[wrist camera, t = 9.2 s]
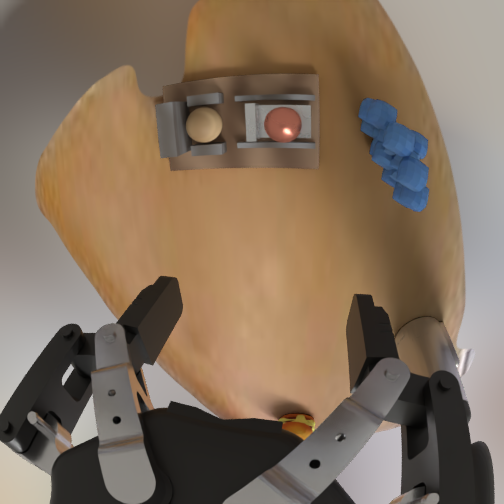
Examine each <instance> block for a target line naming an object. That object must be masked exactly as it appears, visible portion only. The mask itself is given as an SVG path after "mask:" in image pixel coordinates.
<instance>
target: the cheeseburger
mask: <svg viewBox="0 0 504 504" xmlns="http://www.w3.org/2000/svg"><path fill="white" fill-rule="evenodd" d="M278 421H282V422H283V425H282V429H285V430H288V431H290V432H292V433H294V434H296V435H298V436H299V437H301V438H302V439H303V440H305V439H306V438H307V437H308V436H309V435H310V434H311V433H312V432H313V431H314V430H315V429H314V426H315V421H314V419H313V417H311V416H309V415H305V414H288V415H284V416H282V417H281V418H280V419H279V420H278Z"/></svg>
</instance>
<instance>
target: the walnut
mask: <svg viewBox="0 0 504 504" xmlns="http://www.w3.org/2000/svg"><path fill="white" fill-rule="evenodd" d="M222 126H223V122H222V118H221V116H220V114H219V113H218V112H217V111H215V110H214V109H212V108H208V107H202V108H198V109H196V110H194V111H193V112H192V113H191V114H190V115H189V116H188V118H187V121H186V130H187V133H188V135H189V136H190V137H191V138H192V139H193V140H195V141H197V142H210V141H212V140H214V139H215V138H217V137H218V135H219V134H220V132H221V130H222Z"/></svg>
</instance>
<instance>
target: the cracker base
mask: <svg viewBox="0 0 504 504" xmlns="http://www.w3.org/2000/svg"><path fill="white" fill-rule="evenodd" d="M163 100H164V103H162V104H157V105H155V107H156V118H157V129H158V138H159V147H160V156H161V158H167V157H169V162H170V170H171V171H176V170H192V169H214V168H302V169H319V133H320V120H319V74H256V75H241V76H229V77H219V78H211V79H203V80H196V81H190V82H184V83H178V84H173V85H167V86H163ZM248 103H257V104H259V105H311V138H295V139H294V140H292V141H290V142H286V143H281V142H277V141H274V140H273V139H271V138H260V139H259V140H258V141H253V142H247V140H246V119H245V104H248ZM202 107H208V108H212V109H214V110H215V111H217V112H218V113H219V114H220V116H221V118H222V122H223V126H222V130H221V132H220V134H219V135H218V137H217V138H215V139H214V140H212V141H210V142H197V141H195V140H193V139H192V138H191V137H190V136H189V135H188V133H187V130H186V121H187V118H188V116H189V115H190V114H191V113H192V112H193V111H194V110H196V109H198V108H202Z"/></svg>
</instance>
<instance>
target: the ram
mask: <svg viewBox="0 0 504 504" xmlns="http://www.w3.org/2000/svg"><path fill="white" fill-rule="evenodd" d="M245 119H246V140H247V142H253V141H258V140H259V139H260V138H271V139H273V140H274V141H277V142H281V143H286V142H290V141H292V140H294V139H295V138H311V105H259V104H257V103H248V104H245Z"/></svg>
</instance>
